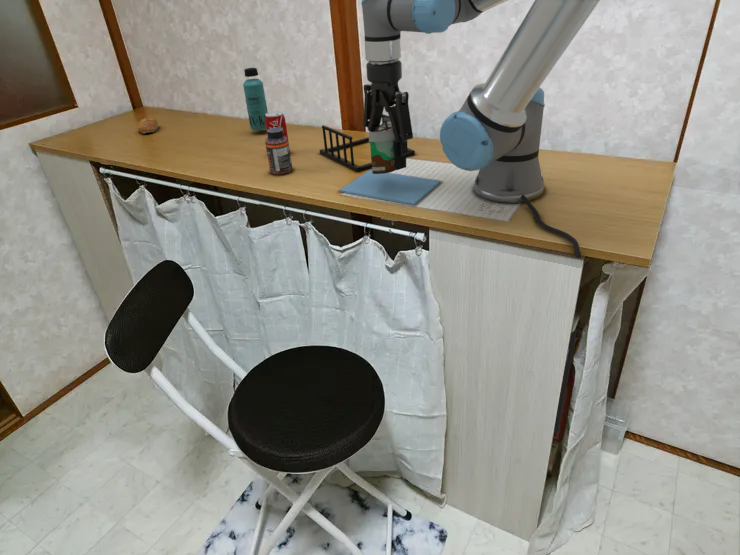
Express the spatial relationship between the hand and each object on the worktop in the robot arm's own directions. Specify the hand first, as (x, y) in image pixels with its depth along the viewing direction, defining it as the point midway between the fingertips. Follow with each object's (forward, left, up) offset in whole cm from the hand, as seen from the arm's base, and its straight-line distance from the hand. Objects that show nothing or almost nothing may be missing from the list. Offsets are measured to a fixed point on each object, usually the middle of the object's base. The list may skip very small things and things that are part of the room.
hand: (388, 163), depth 124 cm
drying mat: (0, 0, -6) cm, 6 cm away
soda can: (+42, +9, -6) cm, 43 cm away
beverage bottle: (+67, +4, -6) cm, 67 cm away
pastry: (+100, +32, -6) cm, 105 cm away
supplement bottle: (+29, +15, -6) cm, 33 cm away
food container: (-1, 0, -1) cm, 1 cm away
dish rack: (+24, -9, -6) cm, 26 cm away
